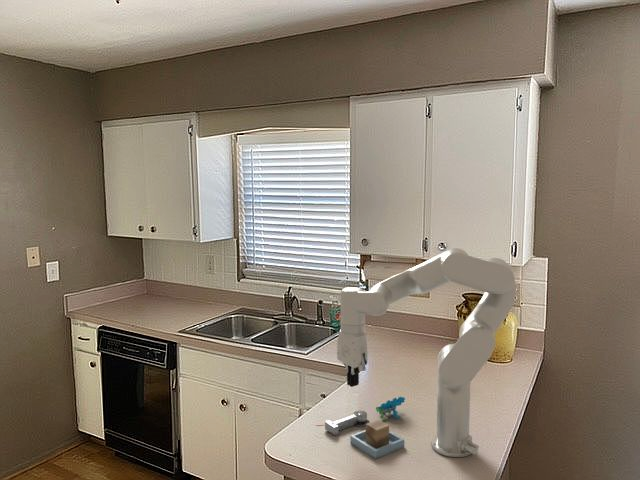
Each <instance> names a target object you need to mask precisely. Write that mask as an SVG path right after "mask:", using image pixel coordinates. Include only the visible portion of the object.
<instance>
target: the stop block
mask: <svg viewBox="0 0 640 480" xmlns="http://www.w3.org/2000/svg"><path fill="white" fill-rule="evenodd" d="M365 430H366V443H367V444H369V445H371V446H372V447H374V448H376V449H378V448H380V447H383V446H385V445H387V444H389V431H390V425H389V424H387V423H385V422H384V421H382V420H380V419H375V420H373V421H369V423H367V424H366V426H365Z"/></svg>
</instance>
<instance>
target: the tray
mask: <svg viewBox="0 0 640 480" xmlns="http://www.w3.org/2000/svg"><path fill="white" fill-rule="evenodd" d="M349 437H350V438H349V439H350V444H351V445H352V446H353V447H355V448H357V449H358V450H360V451H362V452H363V453H365V454H366V455H368V456H370V457H371V458H372V459H374V460H377V459H380V458H383V457H385V456H387V455H389V454H392V453H394V452H396V451H399V450H401V449H404V448H405V439H404V438H403V437H401V436H400V435H397V433H396V434H395V433H394V432H392V431H391V430H389V444H387V445H385V446H383V447H380V448H378V449H376V448H374V447H372V446H371V445H369V444H367V443H366V429H364V430H362V431H359V432H356V433H354V434H351V435H350V436H349Z"/></svg>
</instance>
